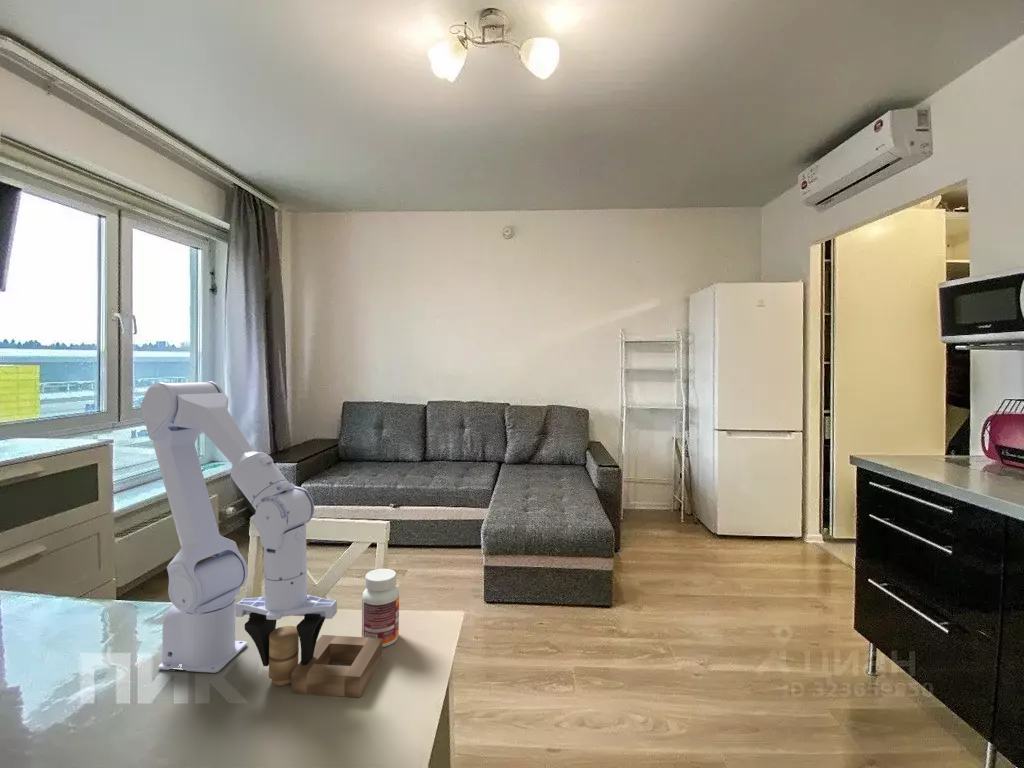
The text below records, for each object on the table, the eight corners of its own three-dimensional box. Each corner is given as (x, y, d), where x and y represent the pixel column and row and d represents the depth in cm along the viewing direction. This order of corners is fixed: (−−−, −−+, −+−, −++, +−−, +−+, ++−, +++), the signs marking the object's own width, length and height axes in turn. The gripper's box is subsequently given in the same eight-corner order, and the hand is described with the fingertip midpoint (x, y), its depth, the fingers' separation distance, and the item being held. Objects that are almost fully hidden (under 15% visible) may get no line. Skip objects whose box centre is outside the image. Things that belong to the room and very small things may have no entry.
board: (291, 693, 71) (291, 672, 71) (322, 652, 81) (322, 634, 81) (359, 697, 70) (360, 676, 70) (382, 656, 80) (382, 638, 80)
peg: (262, 686, 72) (263, 639, 72) (277, 669, 76) (278, 624, 76) (289, 688, 72) (290, 641, 72) (303, 671, 76) (304, 626, 76)
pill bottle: (403, 642, 85) (405, 577, 84) (367, 653, 81) (368, 585, 81) (391, 626, 90) (392, 564, 89) (356, 635, 86) (357, 571, 86)
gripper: (221, 583, 70) (223, 678, 70) (321, 585, 69) (323, 681, 70) (250, 563, 77) (252, 650, 77) (342, 565, 76) (343, 652, 77)
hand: (287, 662), depth 74 cm, fingers open, 5 cm apart
